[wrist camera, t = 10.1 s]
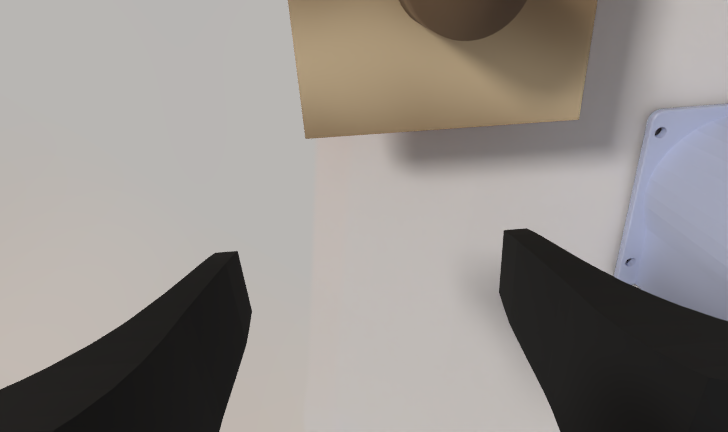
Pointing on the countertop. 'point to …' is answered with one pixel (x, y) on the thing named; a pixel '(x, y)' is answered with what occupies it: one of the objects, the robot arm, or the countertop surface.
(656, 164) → the robot arm
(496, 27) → the lid
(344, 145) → the countertop surface
